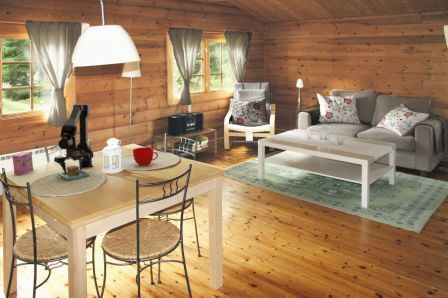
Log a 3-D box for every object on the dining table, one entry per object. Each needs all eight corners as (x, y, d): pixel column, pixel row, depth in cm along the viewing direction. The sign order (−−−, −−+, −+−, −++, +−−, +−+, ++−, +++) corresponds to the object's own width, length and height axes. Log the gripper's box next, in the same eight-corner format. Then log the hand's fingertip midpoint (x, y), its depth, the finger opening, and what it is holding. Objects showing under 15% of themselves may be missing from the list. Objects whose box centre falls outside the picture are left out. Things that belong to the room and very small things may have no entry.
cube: (76, 173, 250) (75, 165, 249) (79, 175, 246) (79, 167, 245) (67, 175, 247) (67, 167, 246) (71, 177, 243) (70, 168, 242)
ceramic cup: (152, 168, 262) (152, 153, 260) (129, 166, 268) (128, 150, 266) (163, 163, 274) (162, 148, 272) (140, 161, 280) (139, 146, 278)
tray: (79, 172, 256) (79, 169, 255) (89, 176, 246) (89, 173, 246) (58, 176, 247) (57, 173, 247) (67, 181, 238) (67, 177, 237)
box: (22, 175, 250) (20, 155, 247) (14, 174, 251) (11, 155, 248) (33, 170, 260) (31, 151, 257) (25, 170, 261) (23, 151, 258)
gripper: (60, 150, 231) (63, 177, 234) (92, 145, 243) (94, 171, 247) (52, 147, 239) (55, 173, 242) (84, 142, 251) (86, 167, 255)
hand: (73, 171), depth 246 cm, fingers open, 9 cm apart
